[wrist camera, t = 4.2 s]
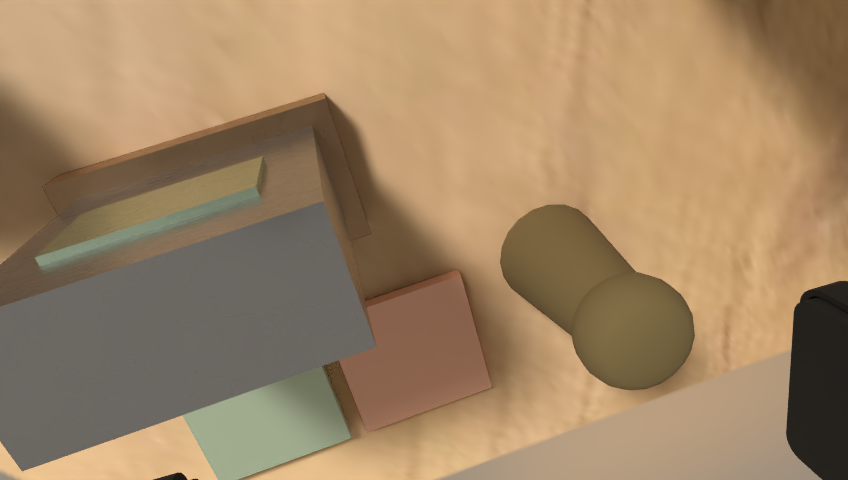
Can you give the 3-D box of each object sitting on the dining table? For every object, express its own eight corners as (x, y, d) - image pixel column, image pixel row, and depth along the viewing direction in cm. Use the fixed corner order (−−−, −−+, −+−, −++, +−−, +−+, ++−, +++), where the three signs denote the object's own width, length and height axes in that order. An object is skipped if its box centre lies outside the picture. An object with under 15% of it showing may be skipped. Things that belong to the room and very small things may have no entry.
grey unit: (323, 92, 29) (346, 156, 16) (366, 221, 32) (415, 361, 19) (58, 175, 28) (-143, 313, 15) (127, 300, 31) (6, 507, 18)
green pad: (305, 321, 33) (305, 328, 32) (350, 429, 36) (351, 438, 36) (165, 369, 32) (161, 378, 32) (222, 475, 36) (221, 485, 35)
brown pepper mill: (481, 276, 34) (558, 385, 24) (536, 186, 33) (642, 262, 23) (561, 314, 36) (663, 430, 26) (616, 231, 35) (746, 318, 25)
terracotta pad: (457, 269, 34) (460, 274, 33) (488, 380, 37) (492, 387, 36) (322, 315, 33) (323, 322, 32) (365, 424, 36) (367, 432, 36)
